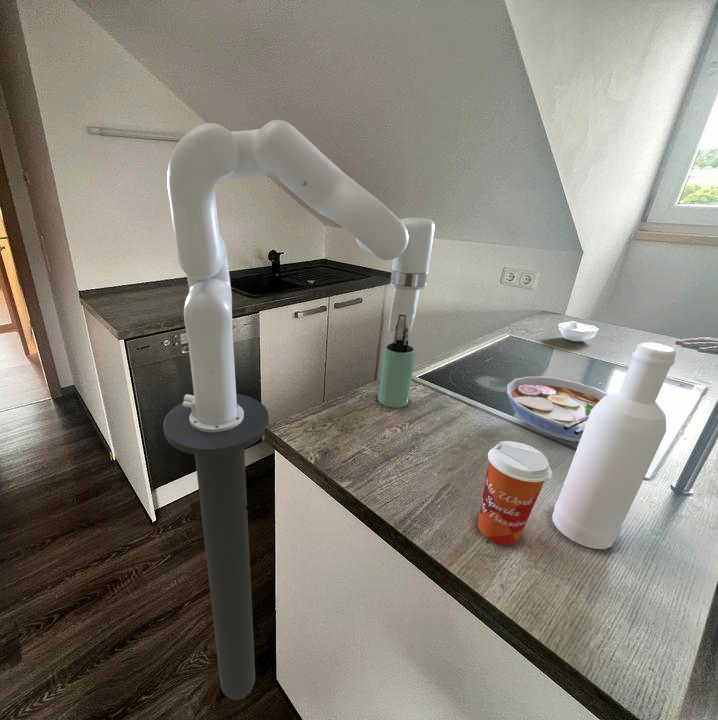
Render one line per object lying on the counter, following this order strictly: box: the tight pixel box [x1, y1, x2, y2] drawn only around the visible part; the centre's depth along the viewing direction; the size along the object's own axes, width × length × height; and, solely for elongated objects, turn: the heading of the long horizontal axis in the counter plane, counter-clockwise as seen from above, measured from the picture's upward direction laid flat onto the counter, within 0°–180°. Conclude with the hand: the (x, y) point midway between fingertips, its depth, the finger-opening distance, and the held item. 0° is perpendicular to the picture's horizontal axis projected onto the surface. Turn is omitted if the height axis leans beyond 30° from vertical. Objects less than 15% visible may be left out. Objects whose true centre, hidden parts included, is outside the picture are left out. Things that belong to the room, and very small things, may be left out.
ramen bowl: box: [506, 376, 610, 443], centre depth 82 cm, size 25×23×8 cm
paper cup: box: [477, 440, 553, 546], centre depth 56 cm, size 8×8×14 cm
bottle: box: [552, 341, 677, 550], centre depth 53 cm, size 8×8×30 cm
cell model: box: [557, 320, 599, 342], centre depth 134 cm, size 10×12×7 cm
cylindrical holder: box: [377, 341, 417, 409], centre depth 93 cm, size 7×7×14 cm
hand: (398, 356), depth 91 cm, fingers closed
